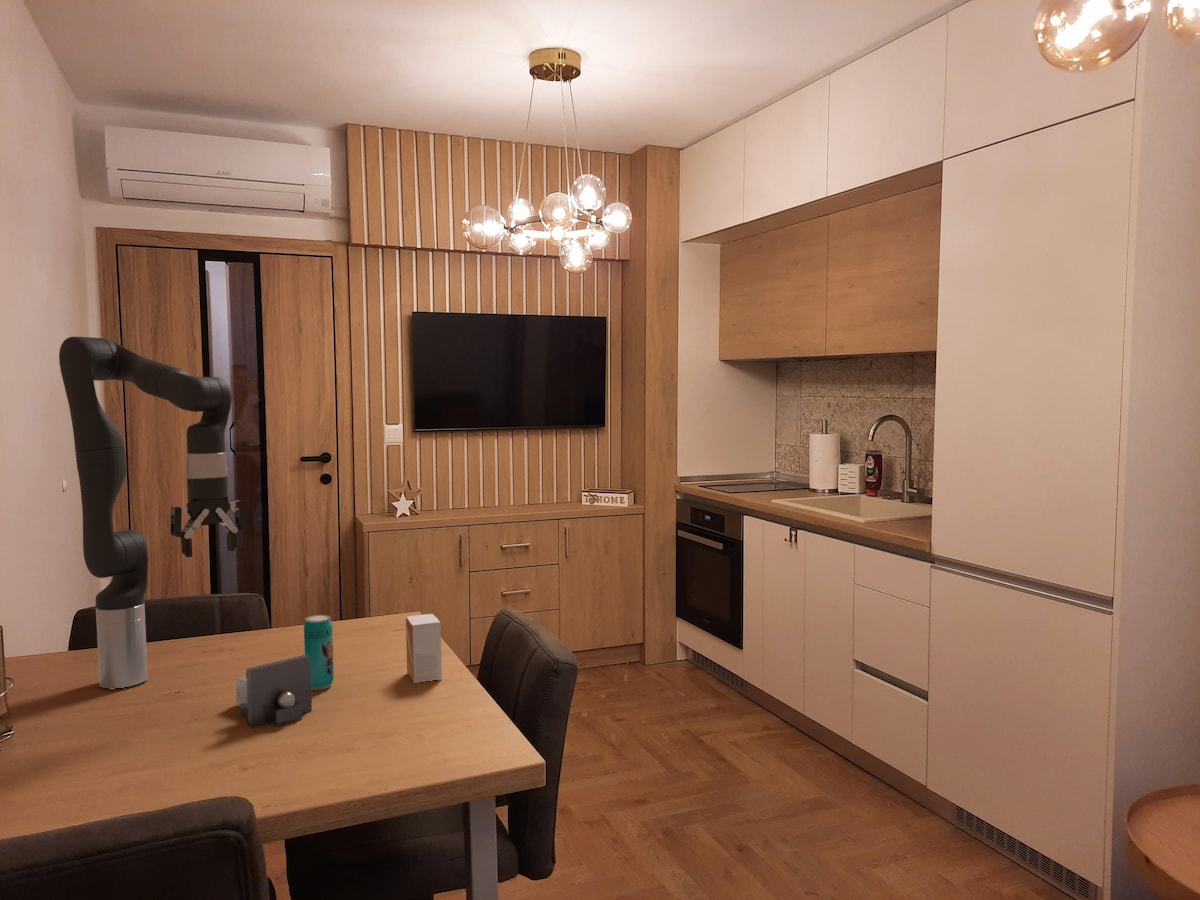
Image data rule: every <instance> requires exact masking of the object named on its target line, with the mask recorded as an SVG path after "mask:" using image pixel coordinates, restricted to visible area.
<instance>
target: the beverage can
mask: <svg viewBox="0 0 1200 900" xmlns="http://www.w3.org/2000/svg"><path fill="white" fill-rule="evenodd" d="M304 620H305V622H304V625H303V635H304V636H303V638H304V641H303V643H304V645H303V646H304V655H309V656H310V667H311V691H322V690H323V689H324V690H327V689H329V688H330V687H331V686H332V684H333V681H334V677H335V675H334V674H335V671H334V669H335V668H334V644H333V641H334V639H333V634H334V633H333V622H332V619H331V615H328V614H317V615H316V614H315V615H311V616H308V617H307V616H306V617H305V619H304ZM324 690H323V691H324Z"/></svg>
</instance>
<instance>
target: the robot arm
mask: <svg viewBox="0 0 1200 900" xmlns="http://www.w3.org/2000/svg"><path fill="white" fill-rule="evenodd" d="M58 363H59V368H60V375H61V378H62V382H63V386H64V390H65V394H66V398H67V403H68V407H69V413H70V418H71V419H70V420H71V427H72V432H73V441H74V453H75V459H76V460H75V461H76V469H77V474H78V479H79V480H78V481H79V487H80V500H81V510H82V512H81V513H82V548H83V549H82V552H83V558H84V564H85V566H86V568H87V570H88V571H89V573H90V574H91V575H92V576H93V577H94V578H95V577H96V578H98V579H104V578H105V579H106V578H109V577H110V578H111V577H112V580H111V581H110V582H109V584H108V585H106V587H104V588H103V589H102V590H100V591H99V592H98V593H97V594H96V596H95V617H96V619H95V620H96V638H97V641H96V642H97V659H98V660H97V661H98V662H97V663H98V664H97V665H98V684H99V685H100V686H101V687H104V688H123V689H125V688H124V687H129V686H133V685H137V684H140V683H142V682H144V681H146V680H147V681H148V679H147V678H149V677H148V656H147V654H148V653H147V631H146V629H147V628H146V611H145V607H146V606H145V595H146V593H147V590H148V584H149V583H148V579H149V573H148V570H149V551H148V547H147V546H148V545H147V543H146V540H145V537H143V535H142V534H141V533H140V532H138V531H137V530H133V529H125V530H118V531H114V521H113V519H114V518H113V516H114V515H113V514H114V506H115V503H116V500H117V499H118V498H117V497H118V495H119V493H120V491H121V488H122V486H123V485H124V481H125V479H126V475H127V473H128V472H127V471H128V463H127V454H126V448H125V442H124V439H123V436H122V434H121V432H120V431H119V429H118V428H117V426H116V425H115V424H114V422H113V421H112V420H111V418H110V417H109V416H108V415H107V413H106V412H105V410H104V409H103V407H102V406H101V404H100V401H99V399H98V396H97V391H96V386H95V381H98V382H99V381H102V382H103V381H109V380H113V381H124V382H129V383H132V384H134V385H135V386H136V387H137V389H139V390H140V391H141V392H143V393H144V394H145V393H146V394H148V395H150V396H153V397H155V398H159V399H162V400H166V401H168V402H169V403H170V404H172V405H174V406H175V407H177V408H179V409H181V410H184V411H187V412H192V413H193V412H195V413H196V412H197V413H198V412H202V414H201V417H200V420H199V422H196V423H194V424H192V425H189V426H188V427H187V430H186V463H185V464H186V491H187V494H186V495H187V503H186V506H178V505H173V506H171V508H170V524H169V525H170V527H169V528H170V530H169V531H170V532H169V534H170V535H171V536H172V537H176V538H180V541H181V542H180V543H181V553H182V555H184V557H187V558H192V557H193V539H192V538H191V537H192V536H193V534H194V532H196V530H198V528H199V527H200V526H209V525H219V524H220V525H221V526H223V527H224V528H225V530H226V531H227V532H226V547H227V548H226V549H227V551H229V552H235V551H236V549H237V547H238V532H239V531H241V530H245V529H246V528H247V520H246V510H245V502H244V501H243V500H239V499H235V500H234V501H229V498H228V497H229V489H228V488H229V486H228V485H229V484H228V482H229V481H228V472H229V470H228V462H227V456H226V444H225V443H226V441H225V439H226V437H225V431H226V427H227V424H228V420H229V416H230V411H231V407H232V402H233V396H232V395H233V394H232V390H231V388H230V385H229V384H228V382H227V381H226V380H225V379H224V378H221V377H215V376H191V375H190V374H189V373H188V372H187V371H185V370H183V369H182V368H179V367H175V366H173V365H169V364H167V363H163V362H160V361H156V360H153V359H151V358H150V359H149V358H146V357H144V356H142V355H139V354H138V353H135V352H134V351H132V350H130V349H128V348H126V347H125V346H123V345H121V344H119V343H117V342H115V341H114V340H113V341H112V340H111V339H108V338H104V337H89V336H88V337H87V336H69V337H66V338H65V339H64V340H63V341H62V343H61V345H60V348H59V354H58ZM230 509H231V510H232V512H234V513H233V514H234V519H235V520H234V521H235V523H233V521H232V520H231V519H230V517H229V516H228V515H227V513H228V512H229V511H230ZM186 513H187V514H188V515H189V516H190V517H189V518H188V520H187V521H186V522H185V524H184V527H183V529H182V521H183V519H182V518H183V517H184V516H185V514H186ZM147 681H146V682H147ZM144 683H145V682H144ZM142 684H143V683H142ZM140 685H141V684H140ZM100 686H99V687H100ZM137 686H138V685H137ZM133 687H134V686H133ZM129 688H130V687H129Z"/></svg>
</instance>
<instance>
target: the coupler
mask: <svg viewBox="0 0 1200 900" xmlns="http://www.w3.org/2000/svg"><path fill="white" fill-rule="evenodd" d="M245 670H246V672H245V675H246V679H247V704H246V703H243V704H240V707H239V712H240V713H239V714H240V715H241V716H242V717H244V718H246V719H247V725H248V727H250V728H251V729H253V728H257V727H261V726H264V725H267V724H271V723H272V724H271V725H273V726H274V727H280V725H281V726H284V725H287V723H288V724H290V723H294V722H298V721H300V720H303V715H302V714H305V713H308V712H311V711H312V709H313V708H312V705H313V704H312V690H311V667H310V656H309V655H305V654H303V655H298V656H294V657H289V658H286V659H282V660H277V661H273V662H270V663H264V664H261V665H256V666H252V667H248V668H246V669H245Z"/></svg>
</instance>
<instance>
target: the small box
mask: <svg viewBox="0 0 1200 900" xmlns="http://www.w3.org/2000/svg"><path fill="white" fill-rule="evenodd" d="M405 630H406V631H405V636H406V639H405V641H406V642H405V643H406V644H405V645H406V673H407V675H408V676H409V678H410V679H411V680H412V683H413V684H414V683H417V684H420V683H419V682H424V683H426V682H425V681H431V682H433V681H432V680H438V681H442V680H443V673H442V672H443V671H442V670H443V669H442V638H441V637H442V632H441V631H442V630H441V621H440V620H439V619H438V617H437V616H436V615H435V614H434V613H426V614H418V615H417V614H416V615H410V616H405ZM441 679H442V680H441Z"/></svg>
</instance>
